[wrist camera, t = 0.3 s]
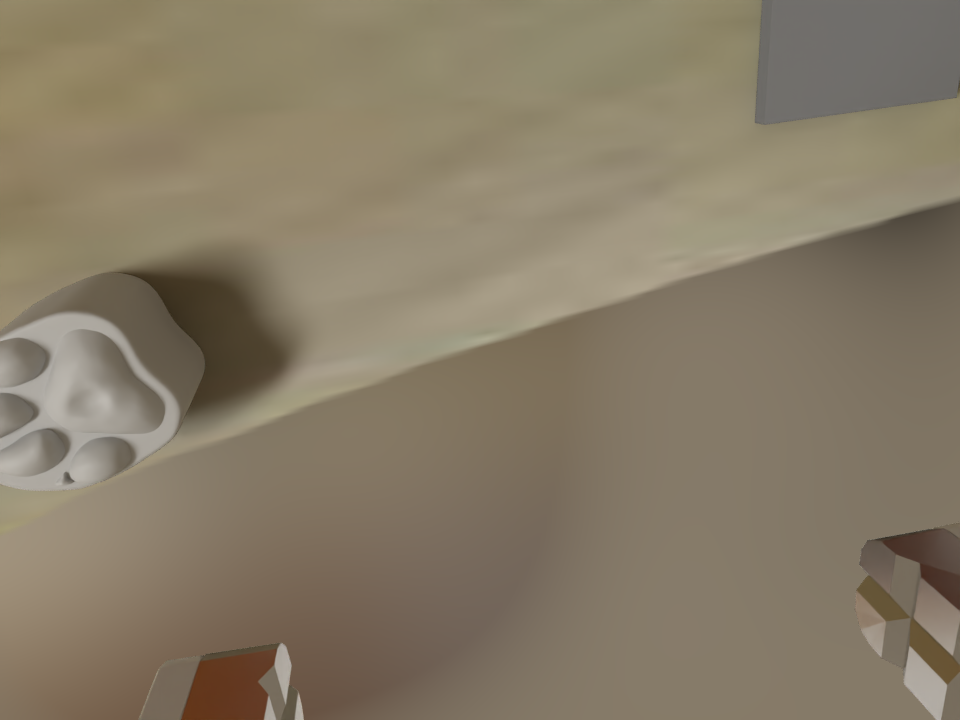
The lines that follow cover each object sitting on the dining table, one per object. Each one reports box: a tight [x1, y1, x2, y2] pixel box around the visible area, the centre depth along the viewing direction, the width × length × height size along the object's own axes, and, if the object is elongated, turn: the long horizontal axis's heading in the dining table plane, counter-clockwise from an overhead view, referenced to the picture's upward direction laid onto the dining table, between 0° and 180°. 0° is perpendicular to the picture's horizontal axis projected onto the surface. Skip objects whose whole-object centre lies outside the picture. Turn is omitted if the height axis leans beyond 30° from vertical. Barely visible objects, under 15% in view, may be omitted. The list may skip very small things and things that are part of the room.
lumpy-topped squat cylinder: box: [0, 273, 205, 491], centre depth 43 cm, size 10×13×9 cm
